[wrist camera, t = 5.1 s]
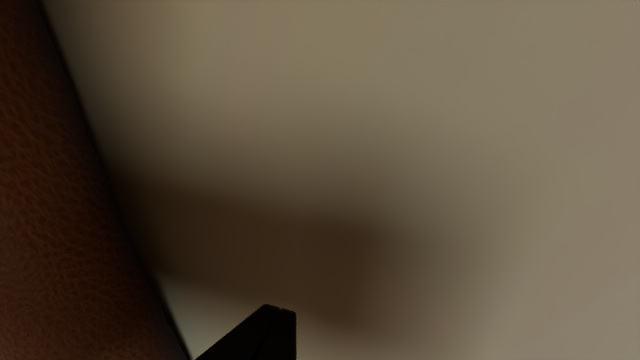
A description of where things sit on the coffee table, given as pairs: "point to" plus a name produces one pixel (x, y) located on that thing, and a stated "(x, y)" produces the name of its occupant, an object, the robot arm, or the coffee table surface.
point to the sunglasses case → (62, 221)
